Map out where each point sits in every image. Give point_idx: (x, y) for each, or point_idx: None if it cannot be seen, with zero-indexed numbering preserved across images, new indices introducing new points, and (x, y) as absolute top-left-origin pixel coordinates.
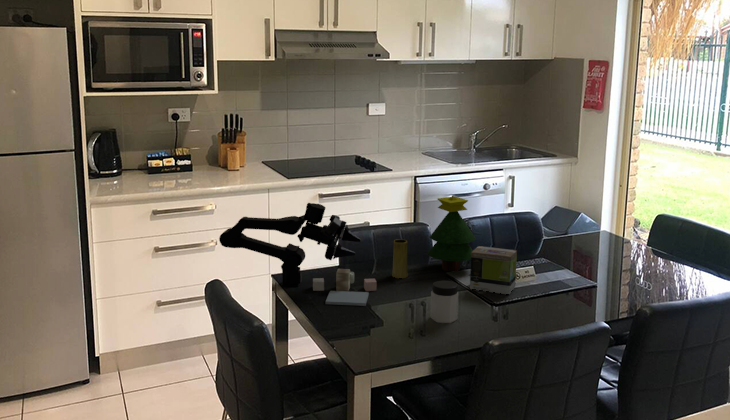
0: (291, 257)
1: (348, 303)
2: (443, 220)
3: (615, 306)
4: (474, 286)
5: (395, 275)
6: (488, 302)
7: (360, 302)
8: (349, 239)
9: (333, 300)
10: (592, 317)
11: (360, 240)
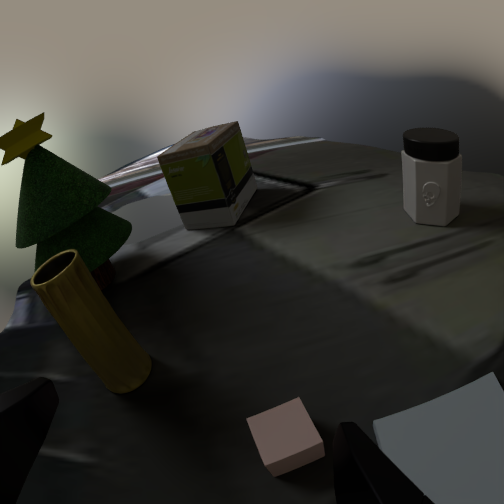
0: None
1: None
2: (34, 180)
3: (270, 143)
4: (236, 213)
5: (140, 375)
6: (303, 194)
7: (498, 389)
8: (5, 491)
9: None
10: (313, 142)
11: (53, 386)
